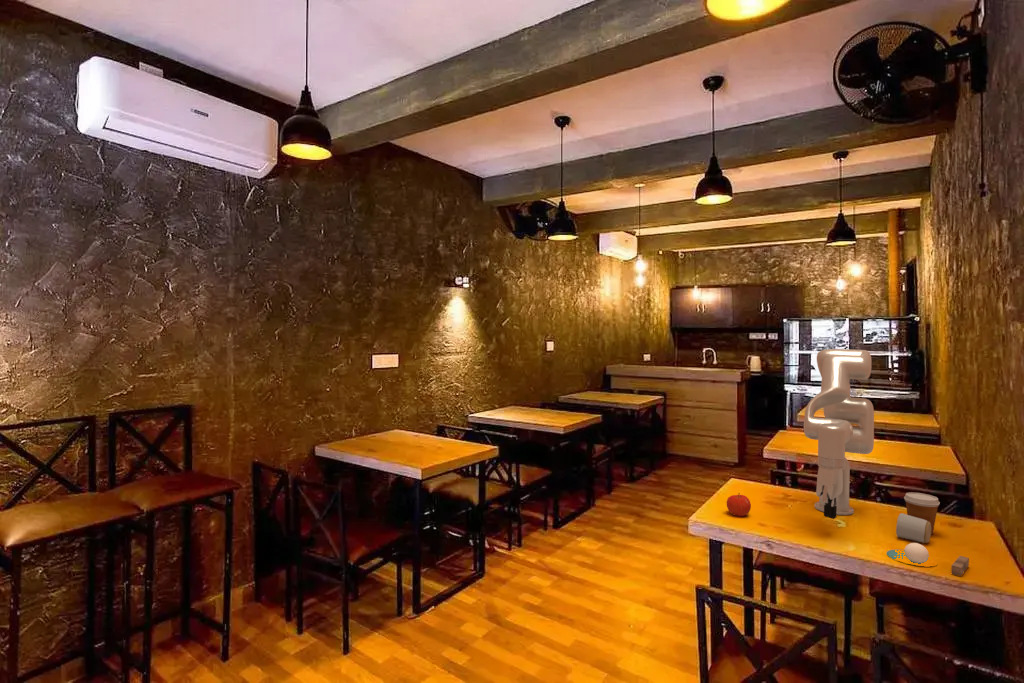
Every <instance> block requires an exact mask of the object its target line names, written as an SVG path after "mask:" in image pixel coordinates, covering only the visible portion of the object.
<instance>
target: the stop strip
mask: <svg viewBox="0 0 1024 683" xmlns="http://www.w3.org/2000/svg"><path fill="white" fill-rule="evenodd" d="M969 562H970V558H969V557H966V556H963V555H959V556H958V557H957V558H956V559H955V561H954V562H953V563H952V564H951V570H950V573H952V574H955V575H954V576H956V575H959V576H961V575H962V574H963V575H964V573H965V572H966V571H967V569H968V568H969V567H968V566H970V563H969ZM967 567H968V568H967ZM966 568H967V569H966ZM965 570H966V571H965ZM964 571H965V572H964ZM963 572H964V573H963ZM952 574H951V575H952ZM963 575H962V576H963ZM959 576H958V577H959ZM962 576H961V577H962Z"/></svg>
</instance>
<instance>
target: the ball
mask: <svg viewBox="0 0 1024 683" xmlns="http://www.w3.org/2000/svg"><path fill="white" fill-rule="evenodd" d="M903 550H904V552H905V555H906V557H907V558H908V559H909V560H910V561H911V562H913V563H918V564H921V563H924V562H926V561H927V560H928V557H930V556H929V551H928V549H927V548H926V547H925V546H924V545H923V544H922V543H921V544H920V543H919V542H910V543H909V544H906V545H905V547H904V549H903Z"/></svg>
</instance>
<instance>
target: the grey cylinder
mask: <svg viewBox="0 0 1024 683" xmlns="http://www.w3.org/2000/svg"><path fill="white" fill-rule="evenodd" d="M895 530H896V531H895V534H896V537H898V538H900V537H901V538H900V539H904V538H905V539H904V540H908V539H909V541H913V542H916V543H921V542H922V543H921V544H927V543H929V542H930V538H931V536H932V535H931V523H930V522H929V521H926V520H924V519H920V518H916V517H913V516H910V515H907V513H902V512H901V513H899V514H898V517H897V521H896V528H895Z"/></svg>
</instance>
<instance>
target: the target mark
mask: <svg viewBox="0 0 1024 683" xmlns="http://www.w3.org/2000/svg"><path fill="white" fill-rule="evenodd" d="M895 550H897V551H898V550H899V549H890V550H887V551H886V556H887V555H888V556H889V558H890V557H891V558H892V560H893V559H896V558H897V556H899V557H898V558H900V554H899V555H897V554H898V553H897V552H895ZM902 552H903V551H902ZM899 553H900V552H899ZM901 554H902V555H901V556H902V559H903V554H904V553H901ZM888 556H887V557H888ZM894 556H896V557H894ZM904 556H906V555H904ZM891 558H890V559H891Z"/></svg>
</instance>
